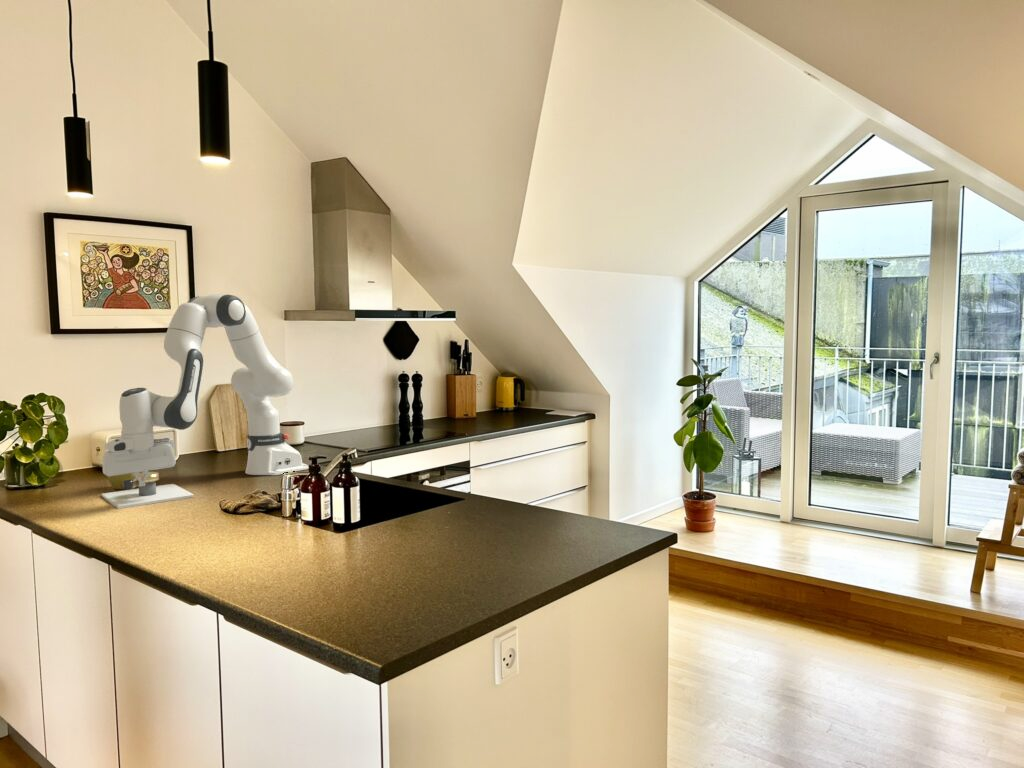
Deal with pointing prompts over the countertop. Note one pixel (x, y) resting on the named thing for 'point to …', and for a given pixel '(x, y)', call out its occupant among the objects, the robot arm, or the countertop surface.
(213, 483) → the countertop surface
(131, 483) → the locking lever
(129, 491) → the base
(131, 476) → the flower pot
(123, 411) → the robot arm
